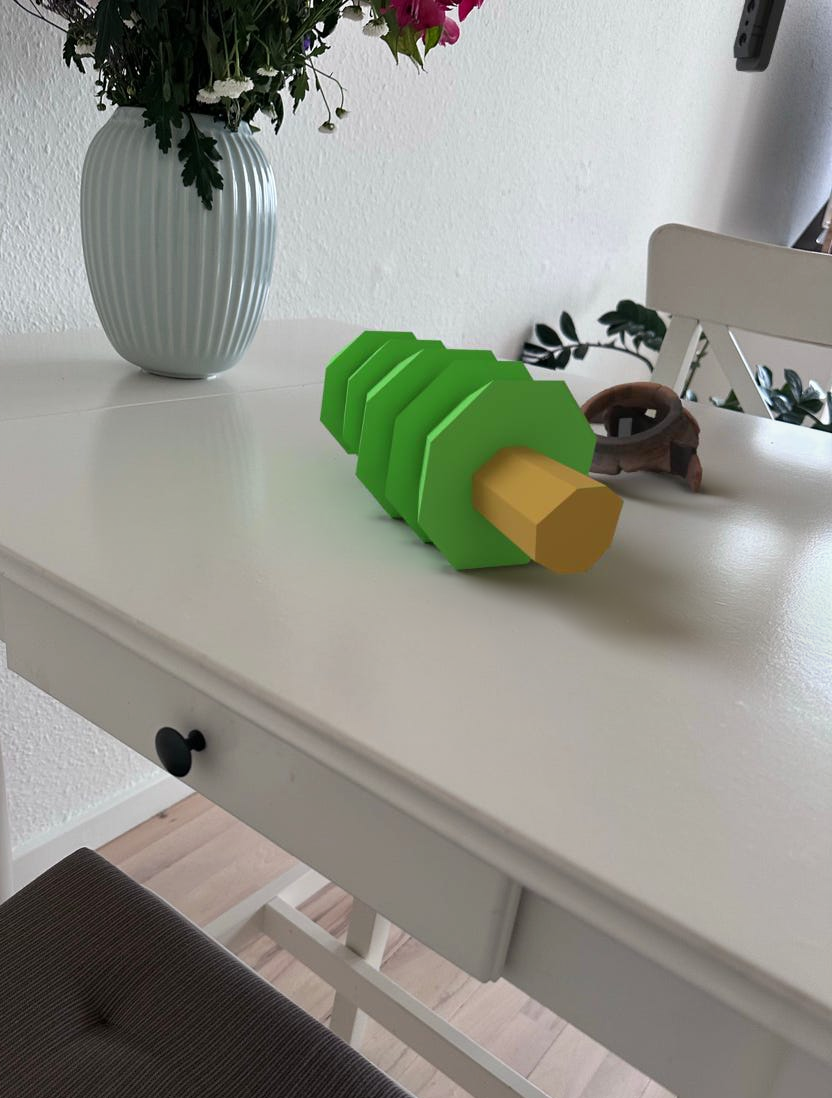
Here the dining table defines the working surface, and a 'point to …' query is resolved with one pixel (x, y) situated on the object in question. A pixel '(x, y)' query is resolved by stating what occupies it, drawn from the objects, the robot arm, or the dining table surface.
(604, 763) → the dining table surface
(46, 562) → the dining table surface
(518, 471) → the decorative tree
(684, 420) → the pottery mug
